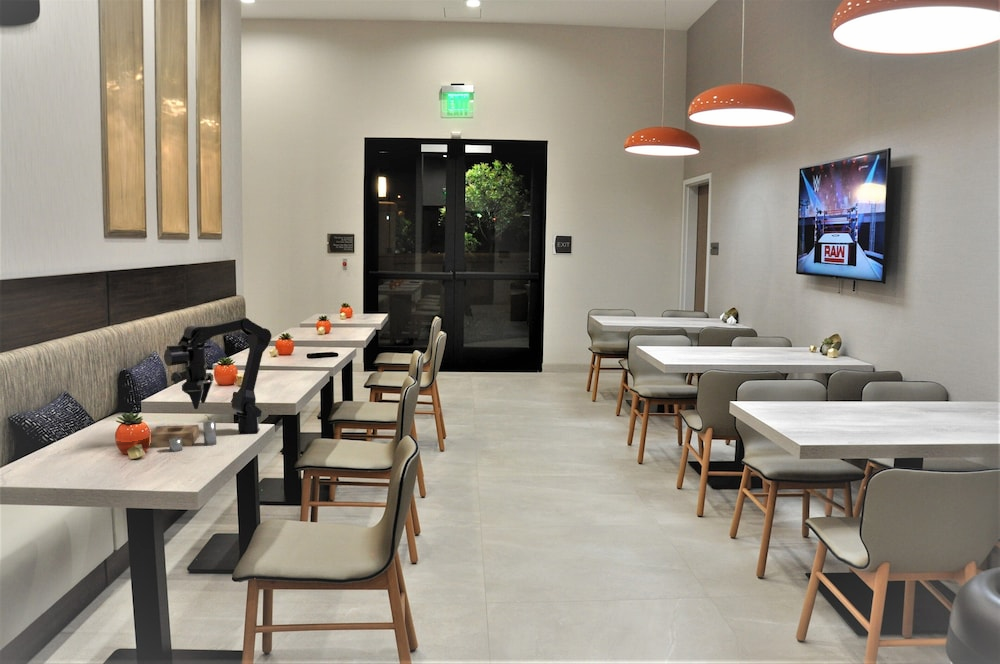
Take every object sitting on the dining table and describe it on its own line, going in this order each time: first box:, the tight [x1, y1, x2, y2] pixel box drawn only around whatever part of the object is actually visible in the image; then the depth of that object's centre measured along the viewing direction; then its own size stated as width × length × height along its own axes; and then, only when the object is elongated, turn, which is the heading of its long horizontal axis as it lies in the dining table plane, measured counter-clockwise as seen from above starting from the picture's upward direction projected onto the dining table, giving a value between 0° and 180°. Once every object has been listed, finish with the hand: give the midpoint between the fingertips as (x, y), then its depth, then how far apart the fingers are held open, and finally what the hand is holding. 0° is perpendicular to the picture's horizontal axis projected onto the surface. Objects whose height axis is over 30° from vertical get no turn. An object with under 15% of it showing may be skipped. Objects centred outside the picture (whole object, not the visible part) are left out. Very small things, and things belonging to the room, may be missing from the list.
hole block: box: [148, 424, 200, 449], centre depth 270 cm, size 14×12×4 cm
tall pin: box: [202, 420, 218, 447], centre depth 267 cm, size 4×4×8 cm
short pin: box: [168, 437, 183, 453], centre depth 260 cm, size 4×4×4 cm
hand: (199, 405), depth 268 cm, fingers open, 9 cm apart
